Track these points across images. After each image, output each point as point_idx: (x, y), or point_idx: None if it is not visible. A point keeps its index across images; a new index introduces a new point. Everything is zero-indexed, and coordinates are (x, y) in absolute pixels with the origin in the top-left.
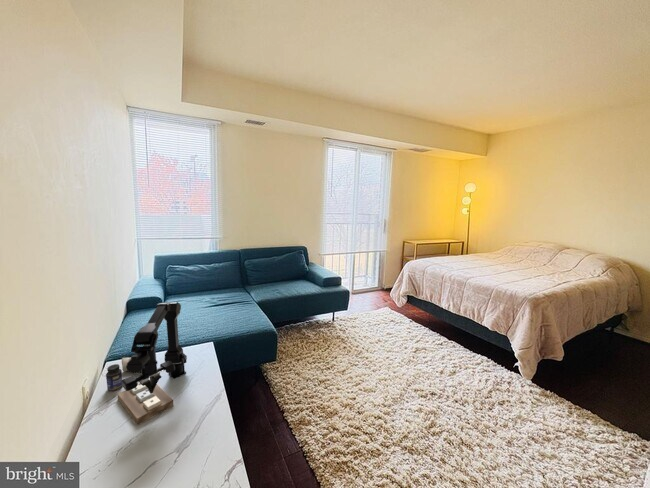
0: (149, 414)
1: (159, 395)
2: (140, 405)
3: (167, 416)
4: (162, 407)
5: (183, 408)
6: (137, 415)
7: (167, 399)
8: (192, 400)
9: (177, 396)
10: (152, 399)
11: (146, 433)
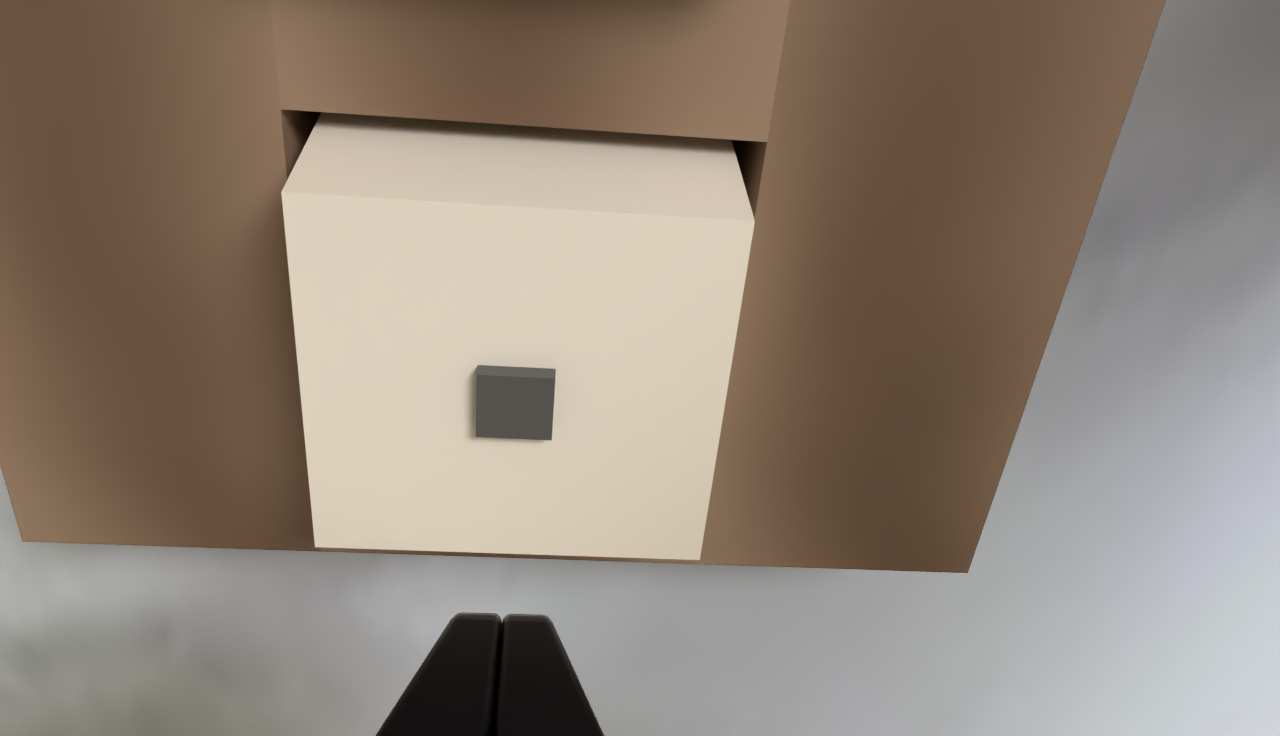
0: None
1: (916, 78)
2: (224, 66)
3: (645, 617)
4: None
5: (958, 645)
6: (47, 450)
7: (904, 457)
8: (1225, 585)
9: (1238, 203)
10: (575, 320)
11: (189, 707)
